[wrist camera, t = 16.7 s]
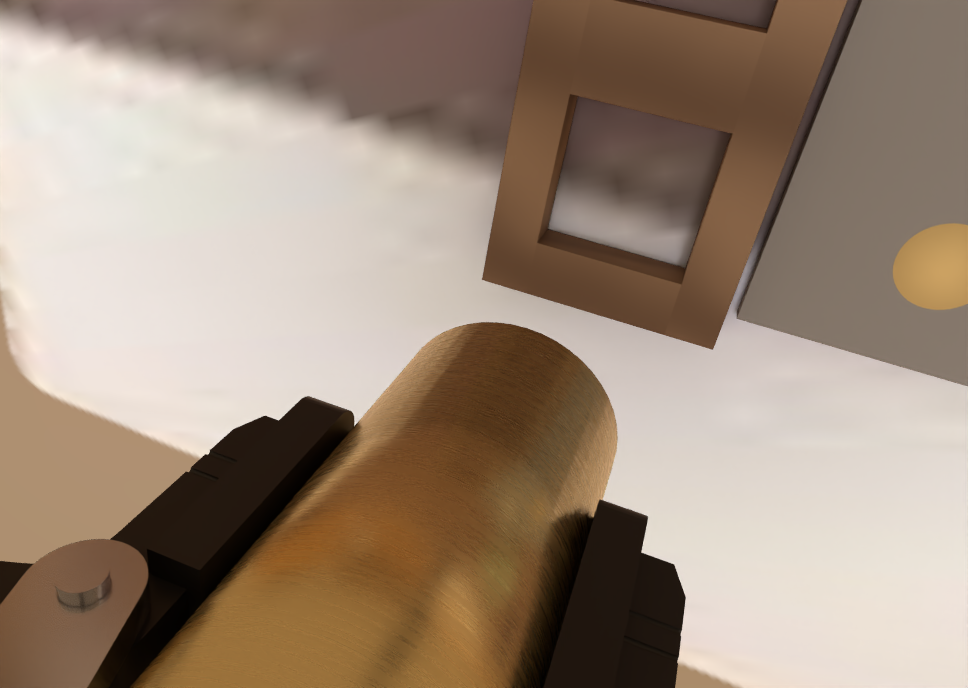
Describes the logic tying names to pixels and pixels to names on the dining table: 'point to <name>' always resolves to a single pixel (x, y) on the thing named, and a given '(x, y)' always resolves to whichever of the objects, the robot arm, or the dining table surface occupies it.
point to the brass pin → (421, 534)
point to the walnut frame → (668, 93)
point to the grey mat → (880, 199)
